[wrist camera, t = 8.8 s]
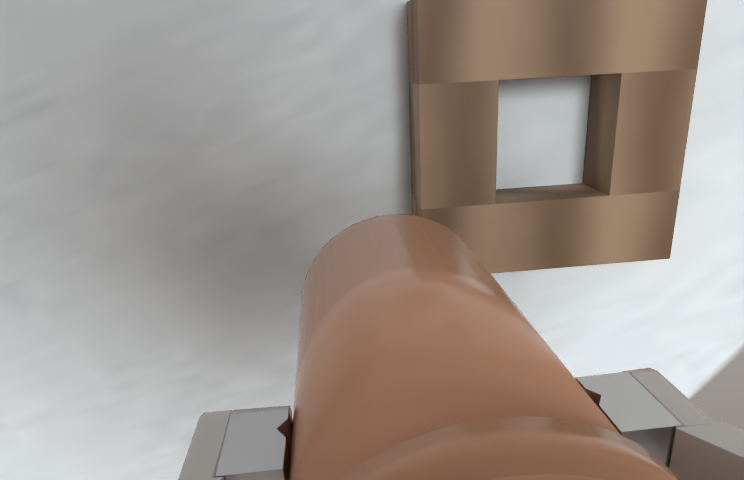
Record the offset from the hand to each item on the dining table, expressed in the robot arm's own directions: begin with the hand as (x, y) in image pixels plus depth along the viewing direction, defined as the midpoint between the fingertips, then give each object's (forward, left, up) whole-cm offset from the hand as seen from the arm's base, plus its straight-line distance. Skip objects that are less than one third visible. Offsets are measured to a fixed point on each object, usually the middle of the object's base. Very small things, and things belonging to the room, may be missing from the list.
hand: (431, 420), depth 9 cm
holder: (+10, +2, -21) cm, 23 cm away
